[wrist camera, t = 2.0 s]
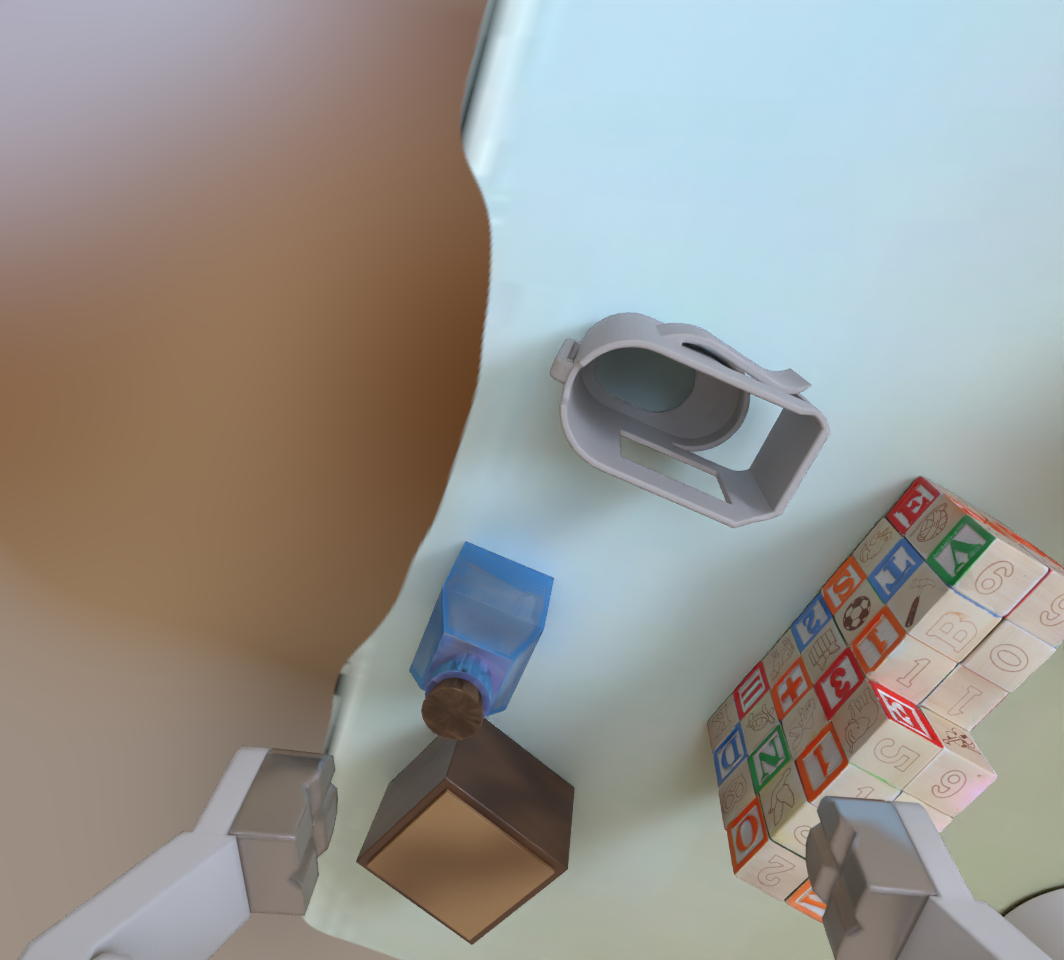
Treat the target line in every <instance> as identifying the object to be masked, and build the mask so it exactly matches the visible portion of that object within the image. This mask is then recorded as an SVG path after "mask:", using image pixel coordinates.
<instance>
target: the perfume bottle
mask: <svg viewBox="0 0 1064 960" xmlns="http://www.w3.org/2000/svg"><path fill="white" fill-rule="evenodd" d="M553 580H554V578H552V577H550V576H547V575H545V574H542V573H540V572H538V571H535V570H533V569H530V568H528V567H526V566H523V565H521V564H518V563H516V562H514V561H511V560H509V559H506V558H504V557H502V556H499V555H497V554H495V553H492V552H490V551H487V550H485V549H483V548H480V547H478V546H475V545H473V544H471V543H468V542H465V544H464V546H463V548H462V550H461V552H460V554H459V556H458V558H457V560H456V562H455V564H454V566H453V568H452V570H451V572H450V573H449V575H448V577H447V579H446V581H445V583H444V585H443V587H442V590H441V592H440V595H439V597H438V600H437V602H436V605H435V607H434V610H433V612H432V615H431V617H430V620H429V622H428V625H427V627H426V630H425V632H424V635H423V637H422V640H421V642H420V645H419V647H418V650H417V652H416V655H415V657H414V660H413V662H412V665H411V667H410V670H409V671H410V673H411V674H412V676H413V677H414V679H415V680H416V682H417V684H418V685H419V687H420V688H421V689H422V690H425V691H426V692H425V700H424V701H423V705H422V710H421V711H422V717H423V720H424V721H425V723H426V725H427V727H428V728H429V729H430V730H431V731H432V732H433V733H435V734H437V735H439V736H440V737H443V738H446V739H450V740H462V739H466V738H469V737H471V736H472V735H474V734H475V733H477V731H478V730H479V729H480V727H481V725H482V721H483V718H484V717H485V716H489V715H492V714H495V713H498V712H501V711H504V710H505V709H506V707H507V705H508V703H509V701H510V699H511V697H512V695H513V692H514V690H515V688H516V686H517V684H518V682H519V680H520V678H521V676H522V674H523V671H524V669H525V667H526V665H527V663H528V661H529V659H530V657H531V655H532V653H533V650H534V648H535V646H536V644H537V642H538V640H539V638H540V636H541V634H542V631H543V629H544V626H545V620H546V615H547V610H548V605H549V600H550V595H551V590H552V585H553Z"/></svg>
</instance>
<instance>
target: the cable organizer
mask: <svg viewBox="0 0 1064 960" xmlns="http://www.w3.org/2000/svg"><path fill="white" fill-rule="evenodd" d="M626 347H637V348H644V349H648V350H651V351H654V352H657V353H659V354H661V355H664V356H666V357H668V358H671V359H673V360H675V361H677V362H680V363H682V364H684V365H687V366H689V367H691V368H693V369H695V372H696V377H695V383H694V387H693V389H692V391H691V393H690V395H689V396H688V397H687V399H686V400H685V401H684V402H683V403H681V404H680V405H679V406H677V407H675V408H673V409H671V410H668V411H663V412H649V411H645V410H643V409H640V408H638V407H636V406H633V405H631V404H629V403H626V402H624V401H622V400H620V399H617V398H615V397H613V396H611V395H610V394H608V393H607V392H606V391H605V390H604V389H603V388H602V387H601V385H600V384H599V382H598V380H597V378H596V374H595V369H594V362H595V358H596V357H598V356H600V355H601V354H603V353H606V352H608V351H611V350H614V349H619V348H626ZM567 358H569V359H572V360H573V363H572V362H570V361H568V360H567ZM744 372H745V373H747V374H748V375H750V376H751V377H753V378H754V379H753V378H751V377H748V376H746V375H745V373H744ZM550 375H551V377H552V378H554V379H555V380H557V381H559V382H561V383H563V384H565V385H564V388H563V393H562V400H561V403H560V419H561V424H562V428H563V431H564V434H565V436H566V438H567V440H568V442H569V444H570V445H571V447H572V448H573V449H574V451H575V452H576V453H577V454H578V455H579V456H580V457H581V458H582V459H583V460H584V461H586V462H587V463H588V464H590V465H591V466H593V467H595V468H597V469H599V470H601V471H603V472H605V473H608V474H610V475H612V476H614V477H617V478H619V479H621V480H624V481H626V482H628V483H631V484H633V485H635V486H638V487H640V488H642V489H644V490H647V491H649V492H651V493H654V494H656V495H658V496H661V497H663V498H665V499H668V500H670V501H672V502H675V503H677V504H679V505H681V506H684V507H686V508H688V509H691V510H693V511H695V512H698V513H700V514H702V515H705V516H707V517H709V518H711V519H714V520H716V521H718V522H721V523H723V524H725V525H728V526H730V527H732V528H737V527H740V526H743V525H746V524H750V523H753V522H759V521H764V520H768V519H772V518H774V517H777V516H779V515H781V514H782V513H783V512H784V510H785V508H786V507H787V505H788V503H789V501H790V500H791V498H792V496H793V495H794V493H795V491H796V490H797V488H798V486H799V485H800V483H801V481H802V480H803V478H804V476H805V475H806V473H807V471H808V470H809V468H810V466H811V465H812V463H813V461H814V460H815V458H816V456H817V455H818V453H819V451H820V450H821V448H822V446H823V445H824V443H825V441H826V440H827V438H828V436H829V435H830V429H829V425H828V422H827V420H826V418H825V416H824V415H823V414H822V413H821V412H820V411H819V410H818V409H817V408H816V407H815V406H813V405H812V404H811V403H810V402H809V401H808V400H806V399H805V398H804V397H803V396H802V395H801V394H800V392H803V391H804V390H806V389H808V388H809V387H810V386H811V384H810V383H809V382H807V381H806V380H805V379H803V378H802V377H801V376H800V375H798V374H797V373H796V372H794V371H793V370H792V369H787V370H784V371H770V370H766V369H764V368H762V367H760V366H759V365H757V364H756V363H754V362H753V361H751V360H750V359H748V358H747V357H745V356H744V355H742V354H741V353H739V352H738V351H736V350H735V349H733V348H732V347H730V346H729V345H727V344H726V343H724V342H723V341H721V340H720V339H718V338H717V337H715V336H714V335H712V334H711V333H709V332H708V331H706V330H704V329H702V328H700V327H697V326H694V325H690V324H684V323H667V324H665V323H662V322H660V321H658V320H655V319H653V318H651V317H648V316H646V315H643V314H638V313H619V314H615V315H611V316H609V317H607V318H604V319H603V320H601V321H599V322H598V323H596V324H595V325H594V326H593V327H592V328H591V329H590V330H589V331H588V332H587V333H586V334H585V336H584V338H583V339H582V341H581V343H580V342H578V341H576V340H573V339H566V340H565V342H564V344H563V345H562V347H561V349H560V351H559V353H558V355H557V357H556V358H555V361H554V363H553V365H552V368H551V370H550ZM755 379H756V380H755ZM750 394H753V395H755V396H757V397H760V398H762V399H764V400H766V401H769V402H771V403H773V404H776V405H778V406H780V407H782V408H783V410H782V412H781V414H780V415H779V417H778V419H777V421H776V422H775V424H774V426H773V428H772V429H771V431H770V433H769V435H768V437H767V438H766V440H765V442H764V444H763V445H762V447H761V449H760V451H759V453H758V454H757V456H756V458H755V460H754V461H753V463H752V465H751V467H750V468H749V469H748V470H744V471H734V470H730V469H727V468H725V467H723V466H721V465H718V464H716V463H714V462H711V461H709V460H707V459H704V458H702V457H700V456H698V455H695V454H693V453H691V452H688V451H702V450H707V449H710V448H713V447H716V446H718V445H720V444H722V443H723V442H725V441H726V440H728V439H729V438H730V437H731V436H732V435H733V434H734V433H735V432H736V431H737V430H738V429H739V427H740V426H741V424H742V423H743V421H744V419H745V417H746V415H747V412H748V408H749V403H750ZM620 435H622V436H624V437H626V438H629V439H631V440H633V441H636V442H638V443H640V444H642V445H645V446H647V447H649V448H652V449H654V450H656V451H659V452H661V453H663V454H665V455H668V456H670V457H672V458H675V459H677V460H679V461H682V462H684V463H686V464H688V465H691V466H693V467H695V468H698V469H700V470H702V471H705V472H707V473H709V474H711V475H714V476H715V477H716V478H717V480H718V483H719V485H720V488H721V490H722V492H723V495H724V497H725V500H726V502H725V501H722V500H720V499H718V498H715V497H713V496H711V495H709V494H706V493H704V492H702V491H699V490H697V489H695V488H692V487H690V486H688V485H685V484H683V483H681V482H679V481H676V480H674V479H672V478H669V477H667V476H665V475H662V474H660V473H658V472H656V471H653V470H651V469H649V468H646V467H644V466H642V465H639V464H637V463H635V462H632V461H630V460H628V459H626V458H623V457H621V456H620Z"/></svg>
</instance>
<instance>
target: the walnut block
mask: <svg viewBox="0 0 1064 960" xmlns="http://www.w3.org/2000/svg"><path fill="white" fill-rule="evenodd" d="M573 801H574V787H573V786H571V785H570V784H569V783H567V782H566V781H565V780H564V779H562V778H561V777H560V776H558V775H557V774H556V773H555V772H553V771H552V770H551V769H549V768H548V767H547V766H545V765H544V764H543V763H542V762H540V761H539V760H538V759H536V758H535V757H534V756H533V755H531V754H530V753H529V752H527V751H526V750H525V749H523V748H522V747H521V746H520V745H518V744H517V743H516V742H514V741H513V740H512V739H511V738H509V737H508V736H507V735H505V734H504V733H503V732H501V731H500V730H499V729H498V728H496V727H495V726H494V725H492V724H491V723H490V722H489V721H487V720H486V719H485V718H483V721H482V725H481V727H480V729H479V730H478V731H477V733H475V734H474V735H472V736H471V737H469V738H466V739H462V740H450V739H446V738H443V737H440V736H438V737H437V738H436V739H435V740H434V741H433V742H432V743H431V744H430V745H429V746H428V747H427V748H426V749H425V750H424V751H422V752H421V753H420V754H419V755H418V756H417V757H416V758H415V759H414V760H413V761H412V762H411V763H410V764H409V765H408V766H407V767H406V768H405V769H404V770H403V771H402V772H401V773H400V774H399V775H398V776H397V777H396V778H395V779H394V780H393V781H392V782H391V783H390V784H389V785H388V787H387V790H386V792H385V794H384V797H383V799H382V801H381V804H380V806H379V809H378V811H377V813H376V816H375V818H374V820H373V823H372V825H371V827H370V830H369V832H368V834H367V837H366V839H365V841H364V844H363V846H362V849H361V851H360V853H359V856H358V858H357V860H356V862H357V863H358V864H360V865H361V866H363V867H364V868H365V869H367V870H368V871H370V872H371V873H372V874H374V875H375V876H377V877H378V878H379V879H381V880H382V881H384V882H385V883H386V884H388V885H389V886H390V887H392V888H393V889H395V890H396V891H397V892H399V893H400V894H402V895H403V896H404V897H406V898H407V899H409V900H410V901H411V902H413V903H414V904H416V905H417V906H418V907H420V908H421V909H423V910H424V911H425V912H427V913H428V914H430V915H431V916H432V917H434V918H435V919H436V920H438V921H439V922H441V923H442V924H443V925H445V926H446V927H448V928H449V929H450V930H452V931H453V932H455V933H456V934H457V935H459V936H460V937H462V938H463V939H464V940H466V941H467V942H469V943H470V944H474V943H475V942H476V941H478V940H479V939H480V938H481V937H483V936H484V935H485V934H486V933H488V932H489V931H490V930H492V929H493V928H494V927H495V926H497V925H498V924H499V923H500V922H502V921H503V920H504V919H505V918H507V917H508V916H509V915H511V914H512V913H513V912H514V911H516V910H517V909H518V908H519V907H521V906H522V905H523V904H524V903H526V902H527V901H528V900H530V899H531V898H532V897H533V896H535V895H536V894H537V893H538V892H540V891H541V890H542V889H544V888H545V887H546V886H547V885H549V884H550V883H551V882H552V881H554V880H555V879H556V878H557V877H559V876H560V875H561V874H563V873H564V872H565V871H566V870H567V869H568V860H569V848H570V836H571V825H572V813H573Z"/></svg>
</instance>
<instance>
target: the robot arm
mask: <svg viewBox="0 0 1064 960" xmlns="http://www.w3.org/2000/svg"><path fill="white" fill-rule="evenodd" d="M334 772H335V764H334V756H333V755H329V754H320V753H311V752H302V751H293V750H284V749H275V748H263V747H253V746H242V747H241V748H240V749H239V750H238V751H237V752H236V753H235V754H234V755H233V757H232V759H231V761H230V763H229V764H228V766H227V768H226V770H225V772H224V774H223V775H222V777H221V779H220V781H219V783H218V784H217V786H216V788H215V790H214V792H213V794H212V796H211V797H210V799H209V801H208V803H207V805H206V806H205V809H204V810H203V812H202V814H201V816H200V817H199V819H198V821H197V823H196V825H195V826H194V828H193V830H192V832H186V831H182V832H181V833H179V834H178V835H177V836H175V837H174V838H172V839H171V840H170V841H168V842H167V843H166V844H164V845H163V846H161V847H160V848H159V849H158V850H156V851H155V852H153V853H152V854H150V855H149V856H148V857H146V858H145V859H143V860H142V861H141V862H139V863H138V864H137V865H135V866H134V867H132V868H131V869H130V870H128V871H127V872H126V873H124V874H123V875H122V876H120V877H119V878H117V879H116V880H114V881H113V882H112V883H110V884H109V885H108V886H106V887H105V888H103V889H102V890H101V891H99V892H98V893H97V894H95V895H94V896H92V897H91V898H90V899H88V900H87V901H86V902H84V903H83V904H81V905H80V906H79V907H77V908H76V909H74V910H73V911H72V912H70V913H69V914H68V915H66V916H65V917H63V918H62V919H61V920H59V921H58V922H57V923H55V924H54V925H52V926H51V927H50V928H48V929H47V930H46V931H44V932H43V933H41V934H40V935H39V936H37V937H36V938H35V939H33V940H32V941H31V942H29V943H28V944H27V946H26V948H25V949H24V951H23V952H22V953H21V955H20V956H19V958H18V959H17V960H209V959H210V958H211V957H212V956H213V954H214V953H215V952H216V951H217V950H218V949H219V948H220V947H221V946H222V945H223V944H224V943H225V942H226V941H227V940H228V939H229V938H230V937H231V936H232V935H233V934H234V933H235V932H236V931H237V930H238V929H239V928H240V927H241V926H242V925H243V924H244V923H245V922H246V920H247V919H248V918H249V917H250V916H251V915H250V913H267V914H285V915H286V914H287V915H302V916H305V913H306V910H307V908H308V905H309V902H310V899H311V896H312V893H313V890H314V887H315V884H316V882H317V879H318V876H319V872H318V862H317V858H318V857H319V856H320V855H321V854H322V853H323V852H325V851H326V850H327V849H328V846H329V843H330V840H331V837H332V834H333V830H334V825H335V820H336V815H337V804H338V795H337V788H336V787H335V786H334V785H333V784H332V783H331V780H332V778H333V775H334ZM817 813H818V816H819V819H820V823H818V824H817V825H815V826H814V827H812V828H811V829H810V831H809V834H808V837H807V841H806V857H805V861H806V867H807V873H808V877H809V880H810V884H811V887H812V890H813V892H814V893H815V894H816V895H817V896H818V897H819V898H820V899H821V900H822V901H823V902H824V903H825V904H826V905H827V907H826V909H825V912H824V915H823V917H822V921H823V924H824V927H825V931H826V934H827V937H828V940H829V943H830V946H831V949H832V952H833V955H834V958H835V960H1064V888H1062V889H1058V890H1054V891H1051V892H1048V893H1045V894H1042V895H1040V896H1037V897H1035V898H1033V899H1031V900H1028V901H1027V902H1025V903H1023V904H1021V905H1019V906H1018V907H1016V908H1015V909H1013V910H1012V911H1010V912H1009V913H1008V914H1007V915H1005V916H1004V917H1003V916H1001V915H1000V914H999V913H998V912H997V911H996V910H994V909H993V908H992V907H991V906H990V905H989V904H987V903H986V902H985V901H981V900H975V899H974V898H973V896H972V894H971V892H970V890H969V888H968V886H967V885H966V883H965V881H964V879H963V877H962V875H961V873H960V872H959V870H958V868H957V866H956V864H955V862H954V861H953V859H952V857H951V855H950V853H949V851H948V849H947V848H946V846H945V844H944V842H943V840H942V838H941V836H940V835H939V833H938V831H937V829H936V827H935V825H934V823H933V822H932V820H931V818H930V816H929V814H928V812H927V810H926V809H925V808H924V807H923V806H922V805H921V804H920V803H911V802H899V801H885V800H881V799H867V798H853V797H839V796H825V797H824V798H823V799H821V801H820V803H819V806H818V808H817Z"/></svg>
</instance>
